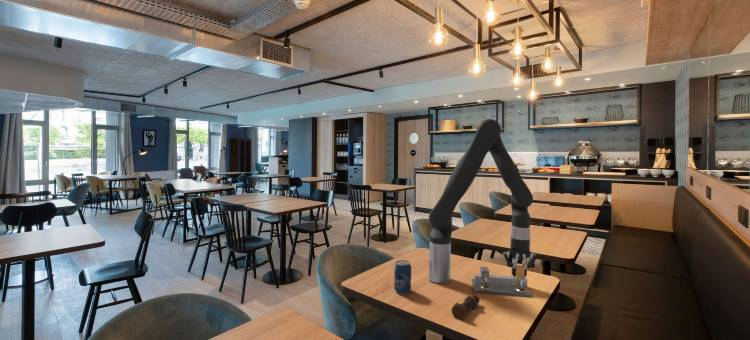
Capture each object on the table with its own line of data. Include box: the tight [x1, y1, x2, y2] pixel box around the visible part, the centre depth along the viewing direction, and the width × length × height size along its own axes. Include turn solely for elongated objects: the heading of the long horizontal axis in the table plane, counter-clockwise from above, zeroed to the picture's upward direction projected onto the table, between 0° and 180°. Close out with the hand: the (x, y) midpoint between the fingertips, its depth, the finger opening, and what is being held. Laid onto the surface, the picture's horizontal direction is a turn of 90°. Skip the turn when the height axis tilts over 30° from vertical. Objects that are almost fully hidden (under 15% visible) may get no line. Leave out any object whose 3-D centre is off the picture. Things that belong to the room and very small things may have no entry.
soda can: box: [393, 260, 412, 295], centre depth 139 cm, size 7×7×12 cm
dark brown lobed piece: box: [451, 294, 480, 321], centre depth 123 cm, size 6×5×15 cm
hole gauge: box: [471, 266, 533, 298], centre depth 142 cm, size 22×12×7 cm, turn 80°
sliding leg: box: [515, 263, 525, 288], centre depth 142 cm, size 3×8×7 cm, turn 169°
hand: (518, 276), depth 143 cm, fingers closed on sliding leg, 3 cm apart
